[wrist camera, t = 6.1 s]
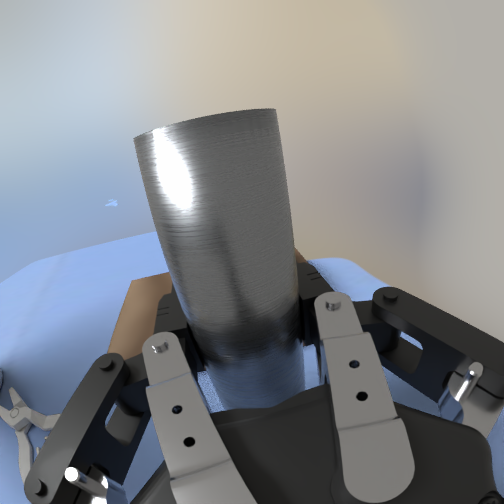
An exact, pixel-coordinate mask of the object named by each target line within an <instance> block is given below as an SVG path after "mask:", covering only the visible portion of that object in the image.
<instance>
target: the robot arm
mask: <svg viewBox="0 0 504 504" xmlns="http://www.w3.org/2000/svg"><path fill="white" fill-rule="evenodd" d="M296 267H297V277H298V288H299V300H300V312H301V325H302V339H303V342H304V344H305V346H308V345H311V344H314V346H315V347H316V361H317V368H318V376H319V385H320V386H317V387H314V388H311V389H308V390H305V391H302V392H300V393H298V394H296V395H294V396H293V397H291V398H289V399H287V400H285V401H283V402H281V403H279V404H277V405H275V406H273V407H270V408H236V409H231V410H226V411H220V412H215V413H212V411H211V409H210V406H209V404H208V402H207V400H206V398H205V396H204V394H203V391H202V389H201V387H200V385H199V383H198V376H197V372H201V371H205V370H204V363H203V360H202V358H201V356H200V353H199V351H198V348H197V346H196V343H195V341H194V338H193V336H192V333H191V331H190V328H189V326H188V323H187V320H186V318H185V315H184V312H183V310H182V307H181V304H180V301H179V299H178V296H177V293H176V290H175V287H174V284H173V282H172V289H171V293H169V294H164V295H163V297H162V298H161V299H160V301H159V302H158V308H157V310H158V311H157V314H156V316H157V317H156V320H155V326H154V333H153V335H152V336H151V337H149V338H148V339H147V340H146V341H145V342H144V344H143V347H142V353H140V354H138V355H136V356H134V357H131V358H129V359H126V360H124V359H123V357H122V356H121V355H120V354H118V353H107V354H104V355H102V356H101V357H99V358H98V359H97V360H96V361H95V362H94V363H93V365H92V366H91V368H90V369H89V371H88V372H87V374H86V375H85V377H84V378H83V380H82V382H81V383H80V385H79V386H78V388H77V389H76V391H75V392H74V394H73V396H72V397H71V399H70V400H69V402H68V404H67V405H66V407H65V408H64V410H63V412H62V413H61V415H60V417H59V418H58V420H57V422H56V423H55V425H54V427H53V429H52V430H51V432H50V434H49V436H48V437H47V439H46V441H45V443H44V444H43V446H42V448H41V450H40V452H39V454H38V455H37V457H36V459H35V461H34V463H33V465H32V467H31V469H30V471H29V473H28V475H27V477H26V479H25V482H24V491H25V495H26V497H27V499H28V500H29V501H30V502H31V503H32V504H128V501H127V499H126V494H125V490H124V489H123V487H122V485H123V483H124V480H125V478H126V475H127V473H128V470H129V468H130V465H131V463H132V460H133V458H134V455H135V453H136V451H137V448H138V446H139V443H140V441H141V439H142V436H143V434H144V432H145V429H146V427H147V424H148V422H149V420H150V417H151V415H152V418H153V422H154V426H155V429H156V433H157V436H158V439H159V443H160V446H161V449H162V452H163V455H164V458H165V460H164V461H163V462H162V464H161V465H160V466H159V468H158V469H157V470H156V471H155V473H154V474H153V475H152V477H151V478H150V479H149V480H148V482H147V483H146V484H145V485H144V487H143V488H142V489H141V490H140V492H139V493H138V494H137V495H136V497H135V498H134V499H133V500H132V501H131V503H130V504H504V498H503V497H502V496H501V495H500V494H499V493H498V491H497V489H496V485H495V482H494V477H493V470H492V455H491V449H490V446H489V443H488V441H487V440H486V438H487V437H488V435H489V433H490V431H491V430H492V428H493V426H494V424H495V422H496V420H497V419H498V417H499V415H500V413H501V411H502V409H503V407H504V343H503V342H502V341H499V340H498V339H496V338H494V337H492V336H490V335H489V334H487V333H485V332H483V331H481V330H479V329H477V328H476V327H474V326H472V325H470V324H468V323H466V322H464V321H462V320H460V319H458V318H456V317H454V316H453V315H451V314H449V313H447V312H444V311H442V310H441V309H439V308H437V307H435V306H433V305H431V304H429V303H427V302H425V301H423V300H421V299H419V298H417V297H415V296H413V295H411V294H409V293H407V292H405V291H402V290H400V289H398V288H395V287H383V288H380V289H378V290H376V291H375V292H374V294H373V298H372V300H369V301H358V302H355V301H352V300H351V298H350V297H349V296H348V295H346V294H344V293H341V292H335V291H334V290H333V289H332V288H331V287H330V285H329V284H328V283H327V282H326V281H325V279H324V278H323V277H322V276H321V275H320V273H318V271H317V270H316V269H315V267H314V266H313V265H310V264H308V263H306V262H302V263H298V262H297V261H296ZM401 331H402V332H404V333H406V334H407V335H409V336H411V337H412V338H414V339H416V340H417V341H419V342H420V343H421V345H422V348H423V350H421V349H420V348H418V347H416V346H415V345H413V344H411V343H410V342H408V341H406V340H405V339H403V338H402V337H400V335H401ZM382 366H384V367H385V368H386V369H388V370H389V371H391V372H392V373H394V374H395V375H397V376H398V377H399V378H401V379H402V380H404V381H405V382H407V383H408V384H410V385H411V386H413V387H414V388H415V389H417V390H418V391H420V392H421V393H423V394H424V395H426V396H427V397H429V398H430V399H432V400H433V401H435V402H436V403H438V407H439V410H440V412H441V417H437V416H434V415H431V414H428V413H425V412H422V411H419V410H416V409H413V408H410V407H407V406H405V405H402V404H399V403H396V402H394V401H393V400H392V397H391V393H390V390H389V387H388V384H387V381H386V378H385V374H384V371H383V368H382ZM2 377H3V376H2V371H1V369H0V388H1V384H2ZM114 403H115V404H116V405H117V407H116V409H115V411H114V413H113V415H112V417H111V419H110V421H109V422H108V424H107V426H106V427H105V421H106V418H107V416H108V414H109V412H110V410H111V408H112V406H113V404H114Z"/></svg>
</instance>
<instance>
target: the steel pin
mask: <svg viewBox="0 0 504 504" xmlns="http://www.w3.org/2000/svg"><path fill="white" fill-rule="evenodd" d="M134 144H135V148H136V153H137V157H138V162H139V166H140V171H141V175H142V179H143V183H144V186H145V191H146V195H147V199H148V202H149V206H150V209H151V213H152V217H153V220H154V224H155V227H156V231H157V234H158V238H159V241H160V244H161V248H162V251H163V254H164V257H165V260H166V263H167V266H168V269H169V272H170V275H171V278H172V281H173V284H174V287H175V290H176V293H177V296H178V299H179V301H180V304H181V307H182V310H183V312H184V315H185V318H186V320H187V323H188V326H189V328H190V331H191V333H192V336H193V338H194V341H195V343H196V346H197V348H198V351H199V353H200V356H201V358H202V360H203V363H204V365H205V367H206V370H207V372H208V374H209V377H210V379H211V381H212V383H213V386H214V388H215V390H216V392H217V394H218V397H219V399H220V401H221V403H222V405H223V407H224V409H225V411H226V410H231V409H236V408H270V407H273V406H275V405H277V404H279V403H281V402H283V401H285V400H287V399H289V398H291V397H293V396H294V395H296V394H298V393H300V392H302V391H305V373H304V355H303V339H302V325H301V312H300V300H299V288H298V277H297V267H296V257H295V247H294V238H293V229H292V220H291V212H290V204H289V196H288V189H287V182H286V181H287V180H286V173H285V166H284V159H283V152H282V145H281V140H280V132H279V126H278V121H277V114H276V109H252V110H243V111H234V112H227V113H221V114H215V115H210V116H205V117H201V118H195V119H191V120H187V121H183V122H179V123H175V124H172V125H168V126H165V127H162V128H158V129H155V130H152V131H150V132H147V133H144V134H142V135H139V136H137V137H135V138H134Z"/></svg>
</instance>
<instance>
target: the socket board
mask: <svg viewBox="0 0 504 504" xmlns="http://www.w3.org/2000/svg"><path fill="white" fill-rule="evenodd" d="M295 257H296V261H297V262H298V263H302V262H306V263H308V262H307V261H306V260H305V259H304V258H303V256H302V255H301V254H300V253H299V252H298V251H297V249H296V248H295ZM172 282H173V281H172V278H171V275H170V272H167V273H163V274H158V275H154V276H150V277H145V278H141V279H137V280H132V282H131V284H130V287H129V289H128V292H127V295H126V298H125V300H124V303H123V306H122V309H121V312H120V314H119V317H118V320H117V323H116V326H115V329H114V332H113V336H112V339H111V342H110V345H109V348H108V352H107V353H118V354H120V355H121V356H122V357H123V359H124V360H126V359H129V358H131V357H134V356H136V355H138V354H140V353H142V347H143V344H144V342H145V341H146V340H147V339H148V338H149V337H151V336H152V335H153V333H154V326H155V320H156V317H157V316H156V314H157V311H158V310H157V308H158V302H159V301H160V299H161V298H162V297H163V295H164V294H169V293H171V289H172ZM303 346H305V344H304V342H303ZM204 370H206V367H205V365H204Z"/></svg>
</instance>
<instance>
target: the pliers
mask: <svg viewBox="0 0 504 504" xmlns="http://www.w3.org/2000/svg"><path fill="white" fill-rule="evenodd" d="M9 393H10V396H11V400H12V403H13V406H14V408H12V409H11V411H8V410H7V409H5V408H4V407H2V406H1V405H0V416H1V417H2V419H3V420H4V421H5V422H6V423H7V424H8V425H9V426H10V427H11V428H13V429H15V430H16V431H15V433H16V436H17V438H18V445H19V469H20V474H21V477H22V481H23V484H24V482H25V479H26V477H27V475H28V473H29V471H30V469H31V467H32V465H33V457H32V446H31V444H30V442H29V439H28V437H27V433H28V431H29V429H30V427H31V425H32V423H33V424H34V425H35V426H37V427H38V428H40V429H42V430H44V431H51V430H52V429H53V427H54V425H55V423H56V422H57V420H58V418H59V417H60V415H61V414H54V415H49V416H45V415H43V414H41V413H39V412H36V411H34V410H32V409H30V408H28V406H27V405H26V404H25V402H24V401H23V400H22V398H21V397H20V395H19V394H18V393H17V392H16V391H15V389H14V388H13V387H11V388H10V389H9ZM105 427H106V426H105ZM46 439H47V437H45V440H46ZM36 450H37V455H38V454H39V452H40V450H41V449H40V448H39V447H37V448H36Z"/></svg>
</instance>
